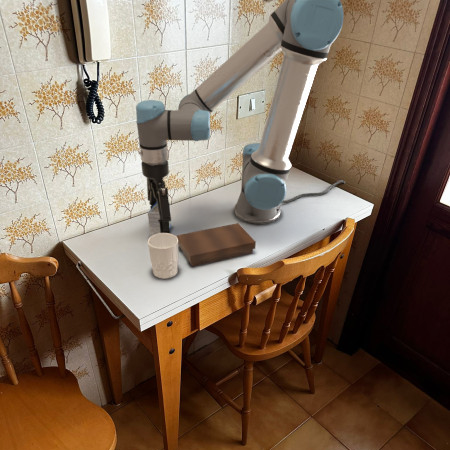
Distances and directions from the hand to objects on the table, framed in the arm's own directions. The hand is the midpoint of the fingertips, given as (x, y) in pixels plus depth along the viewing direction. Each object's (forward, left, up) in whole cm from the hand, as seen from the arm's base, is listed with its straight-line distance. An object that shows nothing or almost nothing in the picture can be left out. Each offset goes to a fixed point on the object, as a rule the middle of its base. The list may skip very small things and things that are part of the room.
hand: (161, 231), depth 138 cm
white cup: (+5, +21, -1) cm, 22 cm away
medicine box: (0, 0, -1) cm, 1 cm away
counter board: (-12, +16, -1) cm, 20 cm away
